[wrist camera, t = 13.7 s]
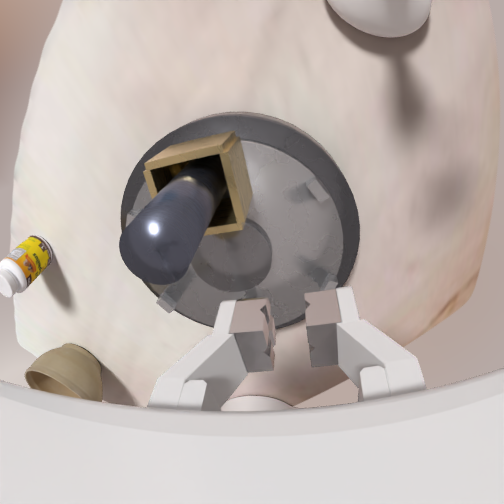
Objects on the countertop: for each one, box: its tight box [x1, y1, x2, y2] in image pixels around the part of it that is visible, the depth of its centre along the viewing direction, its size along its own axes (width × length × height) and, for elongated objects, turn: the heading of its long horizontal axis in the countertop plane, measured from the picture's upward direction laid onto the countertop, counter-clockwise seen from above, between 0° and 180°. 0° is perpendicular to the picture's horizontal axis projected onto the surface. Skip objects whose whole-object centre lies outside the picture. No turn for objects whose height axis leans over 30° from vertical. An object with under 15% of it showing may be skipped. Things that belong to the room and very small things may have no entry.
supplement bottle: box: [0, 235, 52, 297], centre depth 38 cm, size 6×6×10 cm
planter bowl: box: [25, 344, 103, 402], centre depth 51 cm, size 16×16×11 cm
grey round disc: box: [126, 130, 343, 326], centre depth 30 cm, size 23×22×7 cm
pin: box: [119, 154, 228, 285], centre depth 22 cm, size 4×4×14 cm
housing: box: [121, 112, 360, 329], centre depth 35 cm, size 26×26×4 cm
